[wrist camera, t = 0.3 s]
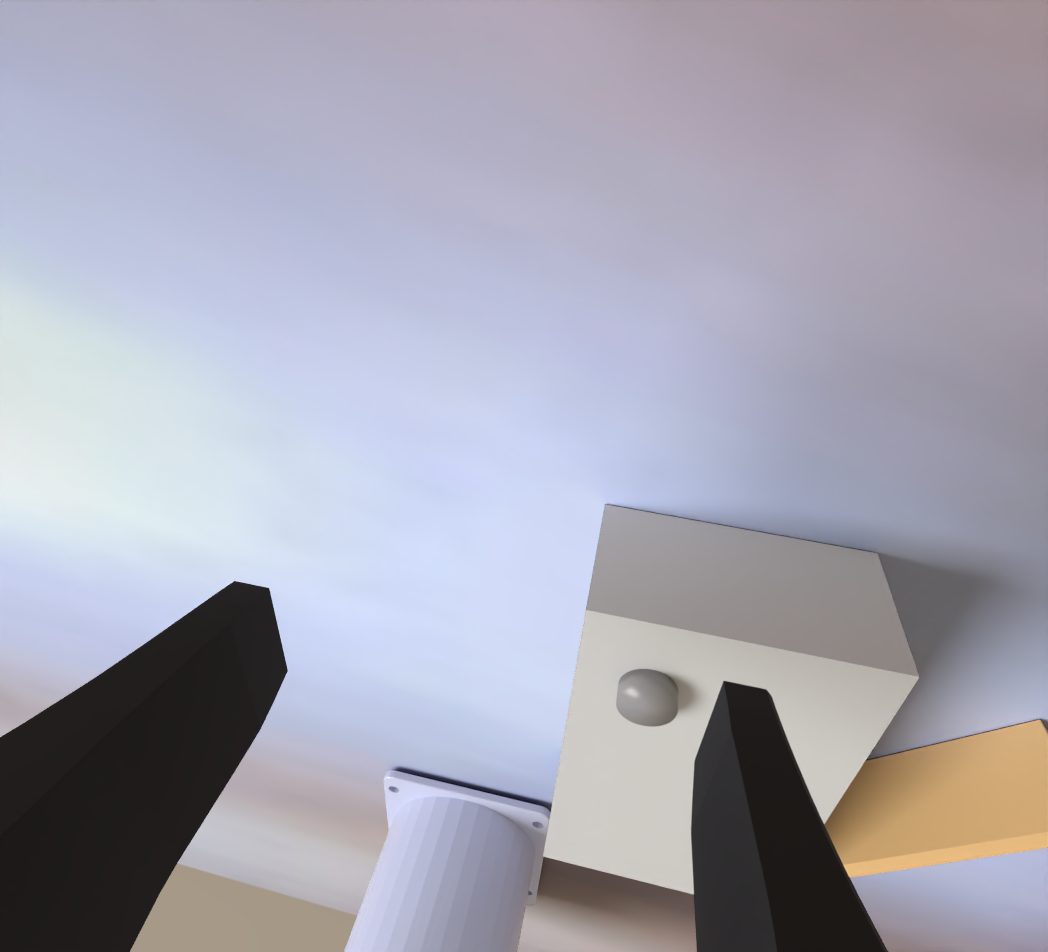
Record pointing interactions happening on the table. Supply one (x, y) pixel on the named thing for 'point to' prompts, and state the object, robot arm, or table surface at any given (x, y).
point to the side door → (946, 803)
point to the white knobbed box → (714, 678)
